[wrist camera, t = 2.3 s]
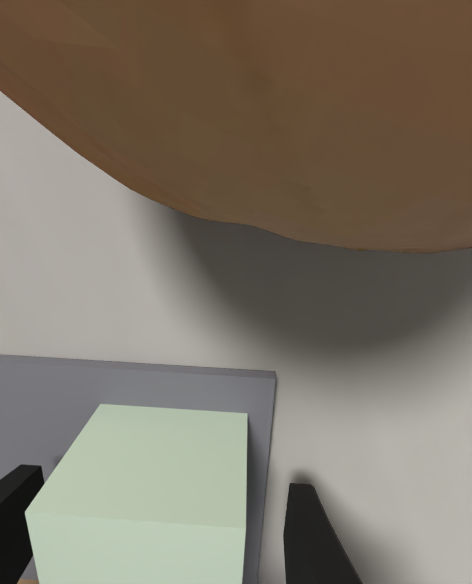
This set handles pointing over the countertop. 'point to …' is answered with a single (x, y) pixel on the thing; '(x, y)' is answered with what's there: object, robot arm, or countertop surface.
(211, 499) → the sage block
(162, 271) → the countertop surface
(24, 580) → the oak slab lower
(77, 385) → the mat
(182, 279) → the countertop surface
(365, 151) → the onion
